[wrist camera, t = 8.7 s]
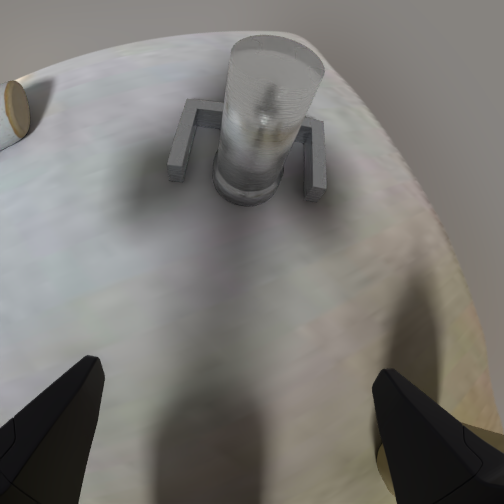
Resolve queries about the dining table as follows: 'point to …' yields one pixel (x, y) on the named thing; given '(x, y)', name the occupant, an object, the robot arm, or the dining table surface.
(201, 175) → the dining table surface
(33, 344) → the dining table surface
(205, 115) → the duct saddle
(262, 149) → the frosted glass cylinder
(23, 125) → the ceramic mug
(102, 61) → the dining table surface
